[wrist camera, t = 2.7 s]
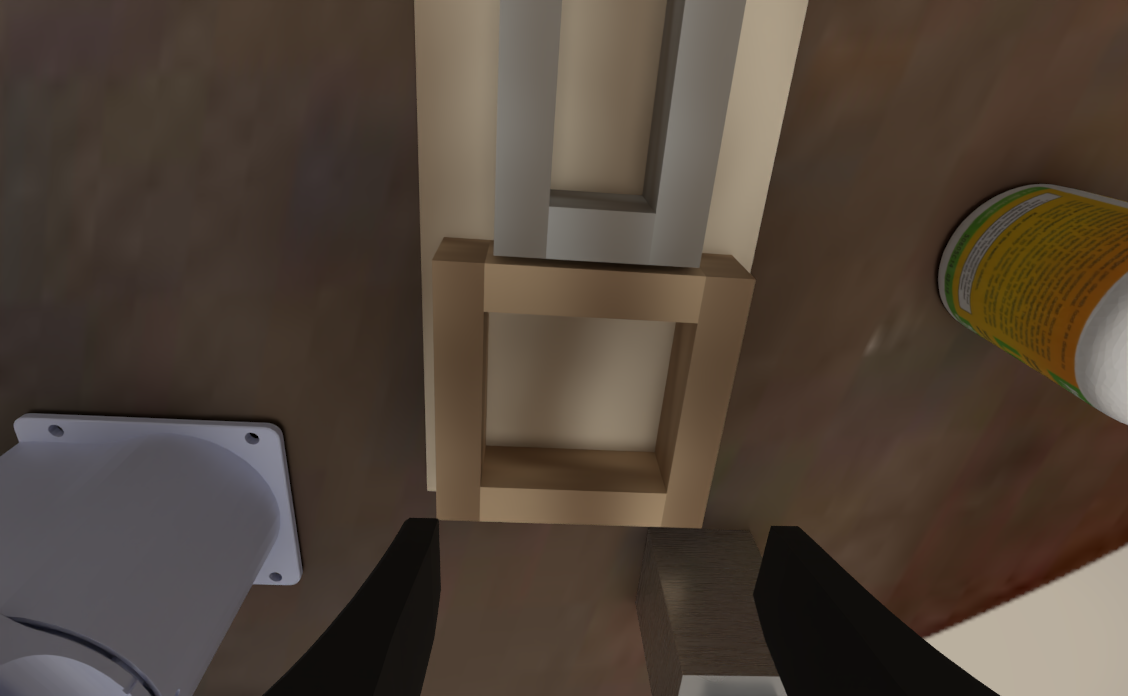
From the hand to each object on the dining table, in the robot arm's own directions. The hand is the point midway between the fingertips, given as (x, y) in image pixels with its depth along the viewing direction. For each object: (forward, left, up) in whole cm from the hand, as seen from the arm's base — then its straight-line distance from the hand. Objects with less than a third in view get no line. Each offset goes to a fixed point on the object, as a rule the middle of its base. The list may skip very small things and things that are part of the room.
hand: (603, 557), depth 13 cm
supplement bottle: (+15, +4, -11) cm, 19 cm away
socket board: (0, +5, -10) cm, 12 cm away
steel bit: (+6, -11, -10) cm, 16 cm away
